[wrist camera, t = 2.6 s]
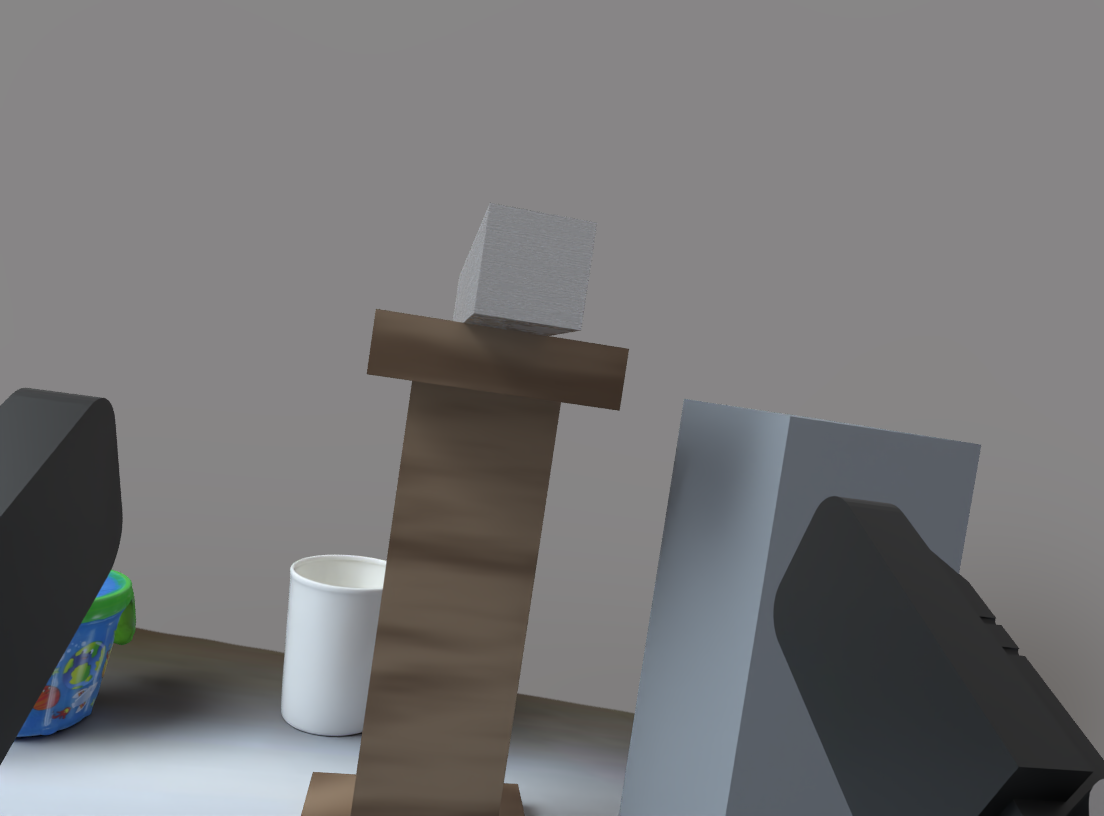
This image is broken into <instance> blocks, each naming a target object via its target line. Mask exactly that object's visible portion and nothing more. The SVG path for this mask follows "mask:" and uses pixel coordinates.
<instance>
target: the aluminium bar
mask: <svg viewBox="0 0 1104 816" xmlns="http://www.w3.org/2000/svg"><path fill="white" fill-rule="evenodd" d="M596 227H597V223H595V222H590V221H585V220H579V219H574V218H568V217H563V216H557V215H552V214H547V213H542V212H536V211H531V210H526V209H520V208H515V207H509V206H504V205H499V204H493V203H490V204H489V207H488V209H487V211H486V213H485V216H484V218H483V221H482V223H481V225H480V228H479V230H478V233H477V235H476V238H475V240H474V242H473V245H472V247H471V249H470V252H469V254H468V257H467V259H466V261H465V264H464V266H463V269H462V271H461V274H460V276H459V283H458V289H457V296H456V303H455V310H454V317H453V321H456V322H462V323H468V324H475V325H481V326H487V327H494V328H500V329H506V330H512V331H519V332H525V333H531V334H538V335H544V336H551V335H557V334H562V333H568V332H575V331H580V330H581V327H582V320H583V314H584V307H585V300H586V294H587V287H588V281H589V280H588V279H589V273H590V267H591V261H592V254H593V247H594V240H595V234H596Z"/></svg>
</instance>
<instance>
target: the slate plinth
mask: <svg viewBox="0 0 1104 816" xmlns="http://www.w3.org/2000/svg"><path fill="white" fill-rule="evenodd" d="M980 448H981V445H979V444H973V443H967V442H961V441H954V440H948V439H942V438H936V437H929V436H923V435H917V434H910V433H904V432H898V431H891V430H885V429H879V428H872V427H866V426H859V425H853V424H847V423H841V422H835V421H828V420H822V419H815V418H808V417H801V416H795V415H788V414H782V413H775V412H768V411H761V410H754V409H748V408H741V407H734V406H728V405H721V404H714V403H708V402H701V401H694V400H688V399H684V404H683V410H682V417H681V423H680V430H679V436H678V442H677V448H676V455H675V461H674V468H673V474H672V481H671V487H670V493H669V499H668V506H667V512H666V518H665V525H664V531H663V538H662V545H661V551H660V557H659V563H658V570H657V576H656V582H655V589H654V595H653V601H652V608H651V614H650V621H649V627H648V633H647V640H646V646H645V653H644V659H643V665H642V672H641V678H640V684H639V691H638V698H637V703H636V710H635V716H634V723H633V729H632V735H631V742H630V748H629V755H628V761H627V767H626V774H625V780H624V786H623V793H622V799H621V806H620V812H619V816H852V813H851V811H850V809H849V806H848V804H847V802H846V799H845V797H844V795H843V792H842V790H841V788H840V785H839V783H838V781H837V778H836V776H835V774H834V771H833V769H832V767H831V764H830V762H829V759H828V757H827V755H826V752H825V750H824V748H823V745H822V743H821V741H820V738H819V736H818V734H817V731H816V729H815V727H814V724H813V722H812V720H811V717H810V715H809V713H808V710H807V708H806V706H805V703H804V701H803V699H802V696H801V694H800V692H799V689H798V687H797V685H796V682H795V680H794V678H793V675H792V673H791V671H790V668H789V666H788V663H787V661H786V659H785V656H784V654H783V652H782V649H781V647H780V645H779V642H778V640H777V637H776V633H775V628H774V619H773V609H774V601H775V596H776V592H777V589H778V587H779V584H780V582H781V580H782V578H783V576H784V574H785V572H786V570H787V568H788V566H789V564H790V562H791V560H792V558H793V556H794V554H795V552H796V550H797V548H798V546H799V544H800V542H801V540H802V537H803V535H804V533H805V531H806V529H807V527H808V525H809V523H810V521H811V519H812V517H813V515H814V513H815V511H816V509H817V508H818V506H819V505H820V504H821V502H822V501H824V500H825V499H826V498H828V497H831V496H838V497H845V498H853V499H861V500H868V501H876V502H883V503H891V504H893V505H895V506H897V507H898V508H899V509H900V510H901V511H902V512H903V513H904V515H905V516H906V517H907V519H908V520H909V522H910V523H911V524H912V526H913V527H914V528H915V530H916V531H917V532H918V534H919V535H920V536H921V538H922V539H923V541H924V542H925V543H926V545H927V546H928V547H929V549H930V550H931V551H932V552H934V553H935V554H936V555H937V556H938V557H939V558H941V559H942V560H943V561H944V562H945V563H947V564H948V565H949V566H950V567H951V568H953V569H954V570H955V571H956V572H957V573H958V574H959V570H960V565H961V559H962V553H963V547H964V542H965V536H966V530H967V524H968V518H969V513H970V506H971V501H972V495H973V489H974V484H975V478H976V472H977V466H978V461H979V455H980Z"/></svg>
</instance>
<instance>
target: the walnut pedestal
mask: <svg viewBox="0 0 1104 816" xmlns="http://www.w3.org/2000/svg"><path fill="white" fill-rule="evenodd" d="M628 351H629V349H626V348H620V347H614V346H607V345H601V344H595V343H588V342H582V341H576V340H569V339H563V338H557V337H550V336H544V335H538V334H531V333H525V332H519V331H512V330H506V329H500V328H494V327H487V326H481V325H475V324H468V323H462V322H456V321H449V320H443V319H437V318H430V317H424V316H418V315H411V314H404V313H399V312H392V311H386V310H380V309H376V313H375V319H374V327H373V334H372V341H371V348H370V355H369V362H368V369H367V374H369V375H377V376H383V377H390V378H397V379H404V380H411V381H412V386H411V393H410V401H409V408H408V415H407V421H406V429H405V436H404V443H403V450H402V457H401V464H400V471H399V478H398V485H397V492H396V499H395V506H394V513H393V521H392V528H391V534H390V541H389V548H388V555H387V562H386V569H385V576H384V583H383V590H382V597H381V604H380V611H379V618H378V626H377V633H376V640H375V647H374V654H373V661H372V668H371V675H370V682H369V689H368V696H367V703H366V710H365V717H364V724H363V731H362V738H361V745H360V752H359V759H358V766H357V773H356V775H355V774H338V773H321V772H313V774H312V777H311V781H310V785H309V788H308V792H307V796H306V799H305V803H304V807H303V810H302V814H301V816H525V815H524V810H523V806H522V801H521V796H520V792H519V787H518V784H507V783H504V778H505V771H506V764H507V758H508V751H509V744H510V738H511V731H512V724H513V718H514V711H515V704H516V698H517V691H518V684H519V678H520V671H521V664H522V657H523V651H524V644H525V638H526V631H527V625H528V617H529V611H530V605H531V598H532V591H533V584H534V578H535V571H536V565H537V558H538V551H539V544H540V538H541V531H542V525H543V524H542V523H543V518H544V511H545V505H546V498H547V491H548V485H549V478H550V471H551V465H552V458H553V451H554V445H555V437H556V431H557V425H558V418H559V411H560V405H561V402H564V403H571V404H578V405H584V406H591V407H598V408H605V409H612V410H620V404H621V398H622V391H623V385H624V378H625V371H626V365H627V358H628Z"/></svg>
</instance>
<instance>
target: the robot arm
mask: <svg viewBox="0 0 1104 816" xmlns="http://www.w3.org/2000/svg"><path fill="white" fill-rule="evenodd" d="M116 438H117V437H116V424H115V415H114V411H113V408H112V405H111V403H110V402H109V401H108V400H107V399H105V398H100V397H92V396H84V395H77V394H69V393H61V392H53V391H46V390H39V389H31V388H21V389H19V390H17V391H15V392H14V393H13V394H12V395H11V396H10V397H9V398H8V399H7V400H6V401H5V402H4V403H3V404H2V405H1V406H0V765H1V763H2V761H3V759H4V758H5V756H6V754H7V752H8V751H9V749H10V747H11V745H12V744H13V742H14V740H15V738H16V737H17V735H18V733H19V731H20V730H21V728H22V726H23V724H24V723H25V721H26V719H27V717H28V716H29V714H30V712H31V710H32V709H33V707H34V705H35V703H36V702H37V700H38V698H39V696H40V695H41V693H42V691H43V689H44V688H45V686H46V684H47V682H48V681H49V679H50V677H51V675H52V674H53V672H54V670H55V668H56V667H57V665H58V663H59V661H60V660H61V658H62V656H63V654H64V653H65V651H66V649H67V647H68V646H69V644H70V642H71V640H72V638H73V637H74V635H75V633H76V631H77V630H78V628H79V626H80V624H81V623H82V621H83V619H84V617H85V616H86V614H87V612H88V610H89V609H90V607H91V605H92V603H93V602H94V600H95V598H96V596H97V595H98V593H99V591H100V589H101V588H102V586H103V584H104V582H105V581H106V579H107V577H108V575H109V573H110V571H111V569H112V566H113V564H114V561H115V558H116V555H117V551H118V548H119V544H120V538H121V532H122V502H121V491H120V490H121V489H120V476H119V463H118V451H117V439H116ZM995 618H996V617H995V616H994V615H993V614H992V612H991V611H990V610H989V609H988V607H987V606H986V604H985V603H984V602H983V600H982V599H981V598H980V596H979V595H978V594H977V593H976V591H975V590H974V588H973V587H972V586H971V585H970V583H969V582H968V581H967V580H966V579H964V578H963V577H962V576H961V575H960V574H958V573H957V572H956V571H955V570H954V569H953V568H951V567H950V566H949V565H948V564H947V563H945V562H944V561H943V560H942V559H941V558H939V557H938V556H937V555H936V554H935V553H934V552H932V551H931V550H930V549H929V547H928V546H927V545H926V543H925V542H924V541H923V539H922V538H921V536H920V535H919V534H918V532H917V531H916V530H915V528H914V527H913V526H912V524H911V523H910V522H909V520H908V519H907V517H906V516H905V515H904V513H903V512H902V511H901V510H900V509H899V508H898V507H897V506H895V505H893V504H891V503H883V502H876V501H868V500H861V499H853V498H845V497H838V496H831V497H828V498H826V499H825V500H824V501H822V502H821V504H820V505H819V506H818V508H817V509H816V511H815V513H814V515H813V517H812V519H811V521H810V523H809V525H808V527H807V529H806V531H805V533H804V535H803V537H802V540H801V542H800V544H799V546H798V548H797V550H796V552H795V554H794V556H793V558H792V560H791V562H790V564H789V566H788V568H787V570H786V572H785V574H784V576H783V578H782V580H781V582H780V584H779V587H778V589H777V592H776V596H775V601H774V609H773V619H774V628H775V633H776V637H777V640H778V642H779V645H780V647H781V649H782V652H783V654H784V656H785V659H786V661H787V663H788V666H789V668H790V671H791V673H792V675H793V678H794V680H795V682H796V685H797V687H798V689H799V692H800V694H801V696H802V699H803V701H804V703H805V706H806V708H807V710H808V713H809V715H810V717H811V720H812V722H813V724H814V727H815V729H816V731H817V734H818V736H819V738H820V741H821V743H822V745H823V748H824V750H825V752H826V755H827V757H828V759H829V762H830V764H831V767H832V769H833V771H834V774H835V776H836V778H837V781H838V783H839V785H840V788H841V790H842V792H843V795H844V797H845V799H846V802H847V804H848V806H849V809H850V811H851V813H852V816H1104V760H1103V758H1102V757H1101V756H1100V755H1099V753H1098V752H1097V750H1096V749H1095V748H1094V747H1093V745H1092V744H1091V743H1090V741H1089V740H1088V739H1087V737H1086V736H1085V735H1084V733H1083V732H1082V731H1081V729H1080V728H1079V727H1078V725H1077V724H1076V723H1075V721H1073V719H1072V718H1071V716H1070V715H1069V714H1068V712H1067V711H1066V710H1065V708H1064V707H1063V706H1062V705H1061V703H1060V702H1059V700H1058V699H1057V698H1056V697H1055V695H1054V694H1053V693H1052V691H1051V690H1050V689H1049V687H1048V686H1047V685H1046V683H1045V682H1044V681H1043V679H1042V678H1041V677H1040V675H1039V674H1038V673H1037V671H1036V670H1035V669H1034V668H1033V666H1032V665H1031V664H1030V662H1029V661H1028V660H1027V658H1026V657H1025V656H1019V654H1018V649H1019V648H1018V646H1017V645H1016V644H1015V642H1014V641H1013V640H1012V639H1011V637H1010V636H1009V635H1008V633H1007V632H1006V631H1005V629H1004V628H1003V627H1002V625H996V624H995Z"/></svg>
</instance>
